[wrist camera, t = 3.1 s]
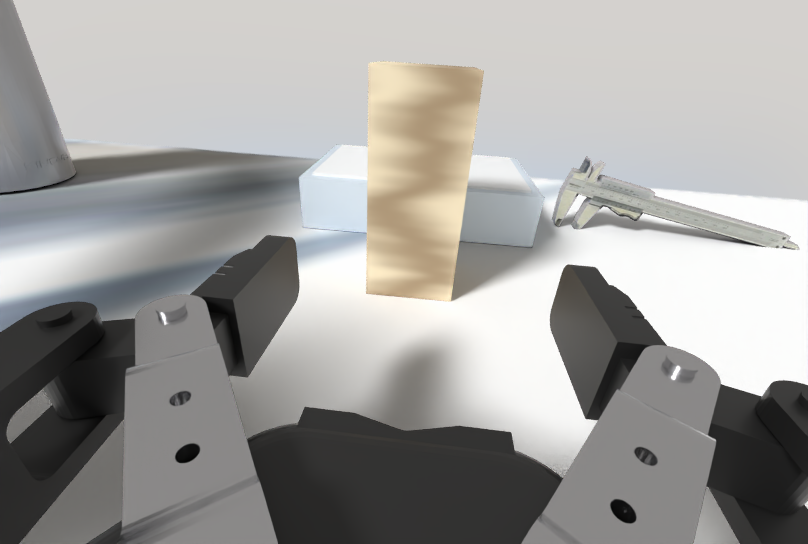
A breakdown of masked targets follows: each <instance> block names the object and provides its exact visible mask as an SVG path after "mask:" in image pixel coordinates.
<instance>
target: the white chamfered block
mask: <svg viewBox="0 0 808 544" xmlns="http://www.w3.org/2000/svg"><path fill="white" fill-rule="evenodd" d="M367 176H368V147H367V146H354V145H336V146H334V147H333V148H332V149H331V150H330V151H329V152H328V153H326V154H325V155H324V156H323V157H322V158H321V159H319V160H318V161H317V162H316V163H315V164H314V165H313V166H311V167H310V168H309V169H308V170H307V171H306V172H304V173H303V174H302V175H301V176H300V177H299V186H300V198H301V211H302V224H303V227H305V228H316V229H327V230H339V231H350V232H362V233H367ZM544 198H545V197H544V196H543V195H542V193H541V192H540V191H539V189H538V188H537V187H536V185H535V184H534V183H533V181H532V180H531V178H530V177H529V176H528V175H527V173H526V172H525V171H524V169H523V168H522V166H521V165H520V164H519V162H518V161H517V160H516V158H506V157H494V156H481V155H472V157H471V164H470V171H469V178H468V185H467V192H466V199H465V206H464V213H463V220H462V227H461V233H460V240H459V241H464V242H476V243H487V244H499V245H510V246H521V247H532V246H533V242H534V238H535V234H536V230H537V226H538V222H539V218H540V214H541V210H542V206H543V202H544Z"/></svg>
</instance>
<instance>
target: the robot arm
mask: <svg viewBox="0 0 808 544" xmlns="http://www.w3.org/2000/svg"><path fill="white" fill-rule="evenodd" d="M75 174H76V170H75V168H74V165H73V162H72V160H71V157H70V154H69V151H68V149H67V146H66V143H65V141H64V138H63V135H62V133H61V129H60V127H59V124H58V121H57V118H56V116H55V113H54V110H53V108H52V105H51V102H50V100H49V97H48V95H47V92H46V89H45V86H44V83H43V81H42V78H41V75H40V73H39V70H38V67H37V65H36V62H35V59H34V56H33V54H32V51H31V49H30V46H29V43H28V41H27V38H26V35H25V32H24V30H23V27H22V24H21V21H20V19H19V16H18V14H17V11H16V8H15V5H14V3H13V0H0V192H11V191H19V190H26V189H32V188H38V187H42V186H47V185H51V184H54V183H58V182H61V181H64V180H66V179H69V178H71V177H72V176H74V175H75ZM298 293H299V274H298V263H297V251H296V243H295V240H294V239H293V238H292V237H281V236H271V235H267V236H266V237H264V238H263V239H262V240H261V241H260V242H259V243H258V244H257V245H256V246H255V247H254V248H253V249H248V250H246V251H243V252H241V253H239V254H237V255H235V256H233V257H232V258H231V259H230V260H228V261H227V262H226V263H225V264H224V266H223V267H221V268H219V269H218V270H217V271H216V272H215V274H213V275H212V276H210V277H209V278H208V279H207V280H206V281H205V282H204V283H203V284H201V285H200V286H199V287H198V288H197V289H196V290H195V291H194V292H192V293H191V294H190V295H174V296H168V297H164V298H161V299H158V300H156V301H153V302H151V303H149V304H148V305H146V306H144V307H143V308H142V309H141V310H140V311H139V312H138V313H137V315H136V317H135V319H124V320H112V321H101V318H100V316H99V313H98V311H97V308H96V307H95V306H94V305H93V304H90V303H86V302H68V303H61V304H56V305H53V306H49V307H46V308H43V309H40V310H38V311H35V312H33V313H31V314H29V315H27V316H26V317H24V318H22V319H21V320H19V321H18V322H16V323H14V324H13V325H11V326H10V327H8V328H7V329H5V330H3V331H2V332H0V544H19V543H20V542H21V541H22V539H23V538H24V537H25V536H26V535H27V533H28V532H29V531H30V530H31V529H32V527H33V526H34V525H35V524H36V523H37V521H38V520H39V519H40V518H41V517H42V515H43V514H44V513H45V512H46V511H47V510H48V508H49V507H50V506H51V505H52V504H53V502H54V501H55V500H56V499H57V498H58V496H59V495H60V494H61V493H62V492H63V490H64V489H65V488H66V487H67V486H68V484H69V483H70V482H71V481H72V480H73V479H74V477H75V476H76V475H77V474H78V473H79V471H80V470H81V469H82V468H83V467H84V465H85V464H86V463H87V462H88V461H89V459H90V458H91V457H92V456H93V455H94V453H95V452H96V451H97V450H98V449H99V447H100V446H101V445H102V444H103V443H104V442H105V440H106V439H107V438H108V437H109V436H110V434H111V433H112V432H113V431H114V430H115V428H116V427H117V426H118V425H119V424H120V422H121V421H122V420H123V419H124V457H123V501H122V521H120V522H119V523H117V524H116V525H114V526H113V527H111V528H110V529H108V530H106V531H105V532H103V533H102V534H100V535H99V536H97V537H96V538H94V539H93V540H91V541H90V542H88V543H87V544H693V542H694V538H695V533H696V529H697V525H698V520H699V516H700V512H701V507H702V503H703V498H704V494H705V490H706V486H707V487H709V488H710V491H711V492H712V494H713V496H714V498H715V499H716V501H717V503H718V505H719V507H720V508H721V510H722V512H723V514H724V516H725V517H726V519H727V521H728V523H729V525H730V526H731V528H732V530H733V532H734V534H735V535H736V537H737V539H738V541H739V543H740V544H808V509H807V508H806V506H805V505H804V504H805V503H806V502H807V501H808V385H805V384H801V383H798V382H793V381H784V380H783V381H775V382H773V383H771V385H770V386H769V387H768V389H767V390H766V392H765V393H764V394H763V396H762V397H761V396H758V395H755V394H751V393H748V392H745V391H741V390H738V389H735V388H731V387H728V386H725V385H722V384H721V381H720V378H719V376H718V374H717V373H716V372H715V370H714V369H713V368H712V367H710V366H709V365H708V364H707V363H706V362H704V361H703V360H701V359H700V358H698V357H696V356H694V355H692V354H690V353H688V352H686V351H683V350H681V349H677V348H674V347H670V346H667V345H666V344H665V343H664V341H663V340H662V339H661V337H660V336H659V335H658V334H657V332H656V331H655V330H654V329H653V327H652V326H651V325H650V323H649V322H648V321H647V320H646V319H644V316H643V314H642V313H641V312H640V311H639V310H637V307H636V306H635V304H634V303H633V302H632V300H631V299H630V298H629V297H628V296H627V295H626V294H624V293H623V292H621V291H620V290H619V289H617V288H616V287H614V286H612V285H609V284H608V283H607V282H606V280H605V279H604V278H603V276H602V275H601V274H600V272H599V271H598V269H597V268H595V267H588V266H578V265H566V266H565V268H564V270H563V272H562V275H561V278H560V282H559V285H558V289H557V292H556V295H555V299H554V302H553V306H552V309H551V314H550V328H551V331H552V334H553V337H554V339H555V342H556V344H557V347H558V349H559V352H560V355H561V357H562V360H563V362H564V365H565V367H566V370H567V373H568V375H569V378H570V380H571V383H572V385H573V388H574V390H575V393H576V396H577V398H578V401H579V403H580V406H581V408H582V411H583V414H584V416H585V419H591V420H598V422H597V423H596V425H595V427H594V428H593V430H592V432H591V433H590V435H589V437H588V438H587V440H586V442H585V443H584V445H583V447H582V448H581V450H580V452H579V453H578V455H577V457H576V458H575V460H574V462H573V463H572V465H571V467H570V468H569V470H568V472H567V473H566V475H565V477H564V478H562V477H560V476H559V475H558V474H557V473H555V472H554V471H552V470H551V469H550V468H548V467H547V466H545V465H544V464H542V463H540V462H538V461H537V460H535V459H533V458H531V457H529V456H527V455H525V454H523V453H520V452H518V451H515V450H514V445H513V440H512V434H511V432H505V431H496V430H488V429H480V428H472V427H464V426H454V427H443V428H433V429H423V430H413V431H404V430H400V429H397V428H394V427H392V426H389V425H386V424H383V423H381V422H378V421H375V420H372V419H370V418H367V417H364V416H361V415H358V414H356V413H350V412H342V411H334V410H326V409H318V408H309V407H305V408H304V410H303V413H302V415H301V417H300V420H299V422H298V423H295V424H289V425H284V426H279V427H276V428H272V429H269V430H266V431H264V432H261V433H259V434H256V435H254V436H252V437H250V438H248V439H246V435H245V432H244V428H243V425H242V422H241V418H240V415H239V411H238V408H237V404H236V401H235V397H234V394H233V390H232V387H231V383H230V380H229V375H233V376H241V377H248V376H249V374H250V373H251V371H252V370H253V368H254V367H255V365H256V363H257V362H258V360H259V359H260V357H261V356H262V354H263V353H264V351H265V349H266V348H267V346H268V345H269V343H270V342H271V340H272V339H273V337H274V335H275V334H276V332H277V331H278V329H279V328H280V326H281V325H282V323H283V321H284V320H285V318H286V317H287V315H288V314H289V312H290V310H291V309H292V307H293V306H294V304H295V303H296V300H297V298H298ZM43 388H44V390H45V392H46V394H47V396H48V397H49V399H50V401H51V403H52V406H51V407H50V408H49V409H48V410H46V411H45V412H44V413H43V414H42V415H41V416H40V417H39V418H38V419H37V420H36V421H35V422H33V423H32V424H31V425H30V426H29V427H28V428H27V429H26V430H25V431H24V432H23V433H22V434H21V435H19V436H18V437H17V438H16V439H15V440H14V441H13V442H12V443H11V444H10V443H9V442H8V440H7V437H6V430H7V426H8V423H9V421H10V419H11V417H12V416H13V415H14V413H15V412H16V411H17V410H18V409H19V408H21V407H22V406H23V405H24V404H25V403H26V402H28V401H29V400H30V399H31V398H32V397H33V396H35V395H36V394H37V393H38V392H39V391H40V390H42V389H43Z"/></svg>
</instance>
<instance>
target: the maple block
mask: <svg viewBox="0 0 808 544" xmlns="http://www.w3.org/2000/svg"><path fill="white" fill-rule="evenodd" d="M483 74H484V71H483V70H480V69H477V68H474V67H459V66H444V65H431V64H415V63H401V62H386V61H382V62H373V63H369V82H368V176H367V271H366V294H376V295H387V296H397V297H408V298H419V299H429V300H440V301H451V296H452V289H453V282H454V275H455V268H456V261H457V254H458V247H459V240H460V233H461V227H462V220H463V213H464V206H465V199H466V192H467V185H468V178H469V171H470V164H471V157H472V150H473V143H474V136H475V129H476V122H477V115H478V108H479V101H480V94H481V88H482V81H483Z"/></svg>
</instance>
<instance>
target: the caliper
mask: <svg viewBox="0 0 808 544" xmlns="http://www.w3.org/2000/svg"><path fill="white" fill-rule="evenodd" d="M604 166H605V163H604V162H602V161H599V162H597V163H596V164H595V165H593V166H592V161H591V159H589V158H588V157H587V156H586V158H585V160H584V162H583V164H582V165H581V167H580V169H576V168H572V170H571V171H570V173H569V175H568V176H567V178H566V180H565V182H564V183H563V185H562V187H561V188H560V191H559V194H558V198H557V201H556V205H555V209H554V212H553V217H552V220H553V221H554V223H555V224H556V226H558V227H559V226H560V224H561V223H562V221H563V219H564V217H565V216H566V214H567V212H568V211H569V209H570V207H571V206H572V204H573V202H574V201H575V199H576V197H577V196H578V194H580V195H583V196H586V197H587V198H586V199H585V200H584V202H583V203H582V205H581V207H580V208H579V210H578V212H577V213H576V215H575V217H574V220H573V222H572V223H571V225H572V227H573V228H574V229H581V228H582V227H583V226H584V225H585V224H586V223H587V222H588V221H589V220H590V219H591V218H592V217H593V216H594V215H595V214H596V213H597V212H598V211H599V210H600V209H601V208H602V207H603V206H605V207H608V208H609V209H610V210H612V211H613V212H614V213H616V214H617V215H619V216H626V217H629V218H630V219H632V220H634V221H637V220H638V219H639V218H640V216H641V215H642V214H643V213H645V214H648V215H652V216H656V217H659V218H663V219H666V220H670V221H674V222H677V223H681V224H684V225H688V226H691V227H695V228H699V229H702V230H706V231H709V232H713V233H716V234H720V235H723V236H727V237H730V238H733V239H737V240H740V241H744V242H747V243H751V244H754V245H758V246H761V247H771V248H782V247H783V246H784V247H787V248H790V249H794V250H798V249H799V247H798V245H797V244H795V243H793V242H791V241H789V239H790V236H788V235H787V234H785V233H783V232H780V231H777V230H773V229H770V228H766V227H763V226H759V225H756V224H752V223H749V222H745V221H742V220H738V219H735V218H731V217H728V216H724V215H721V214H717V213H714V212H710V211H706V210H703V209H699V208H696V207H692V206H689V205H685V204H682V203H678V202H675V201H671V200H667V199H664V198H660V197H657V196H654V195H655V192H653V191H652V190H650V189H648V188H645V187H641V186H638V185H635V184H631V183H628V182H624V181H621V180H618V179H615V178H611V177H608V176H605V175H599V174H600V172H601V171H602V169H603V168H604ZM598 175H599V176H598ZM597 177H598V178H597Z"/></svg>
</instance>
